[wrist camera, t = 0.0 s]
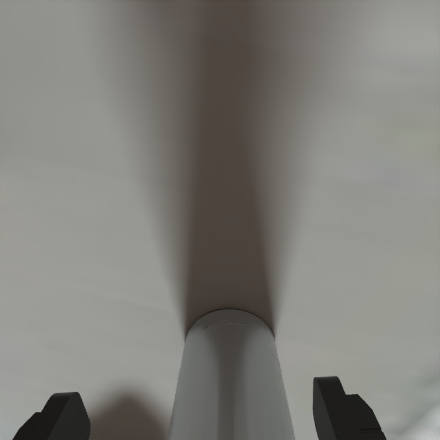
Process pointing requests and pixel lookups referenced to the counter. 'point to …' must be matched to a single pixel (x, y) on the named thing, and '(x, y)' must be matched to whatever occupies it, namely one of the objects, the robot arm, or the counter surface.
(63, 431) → the robot arm
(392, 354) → the counter surface
